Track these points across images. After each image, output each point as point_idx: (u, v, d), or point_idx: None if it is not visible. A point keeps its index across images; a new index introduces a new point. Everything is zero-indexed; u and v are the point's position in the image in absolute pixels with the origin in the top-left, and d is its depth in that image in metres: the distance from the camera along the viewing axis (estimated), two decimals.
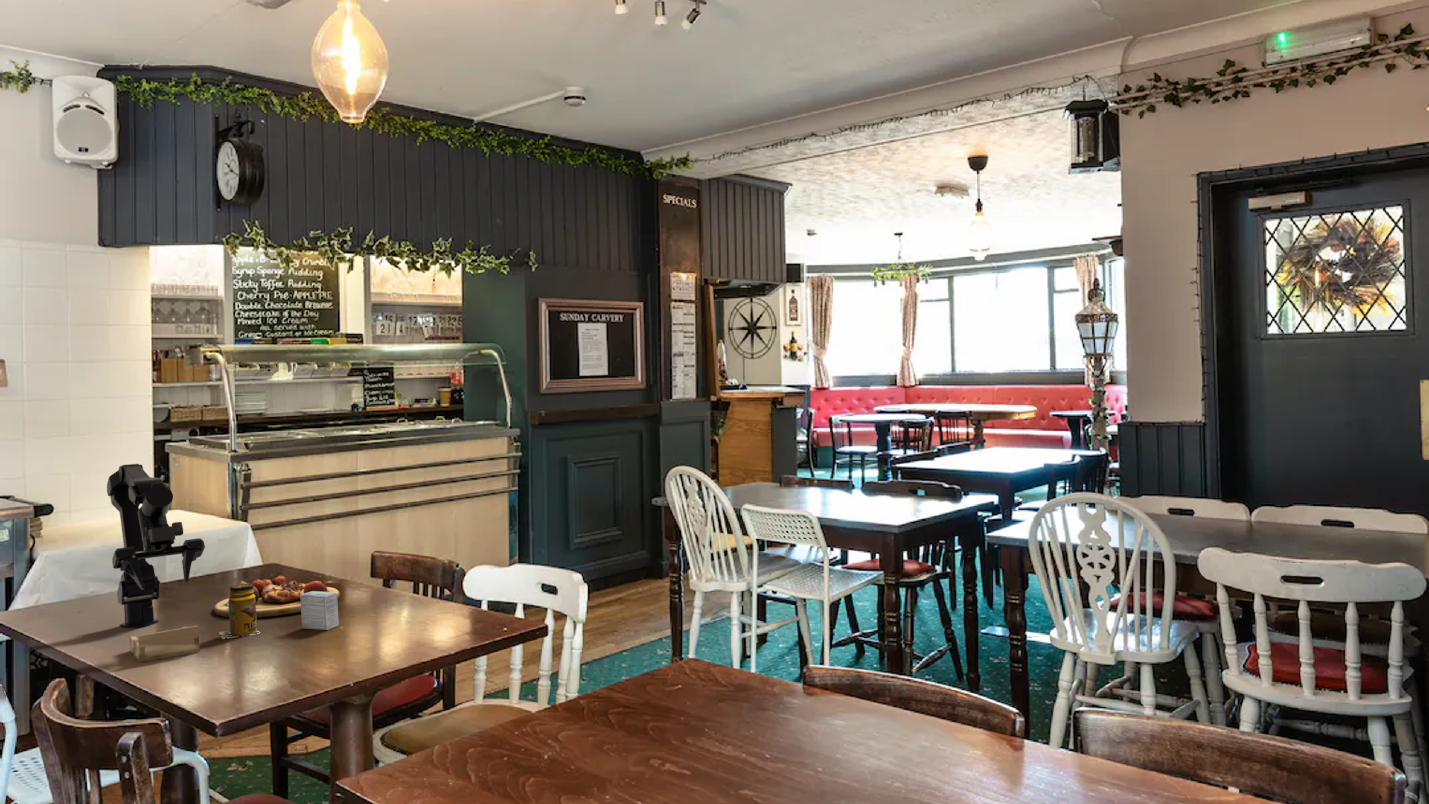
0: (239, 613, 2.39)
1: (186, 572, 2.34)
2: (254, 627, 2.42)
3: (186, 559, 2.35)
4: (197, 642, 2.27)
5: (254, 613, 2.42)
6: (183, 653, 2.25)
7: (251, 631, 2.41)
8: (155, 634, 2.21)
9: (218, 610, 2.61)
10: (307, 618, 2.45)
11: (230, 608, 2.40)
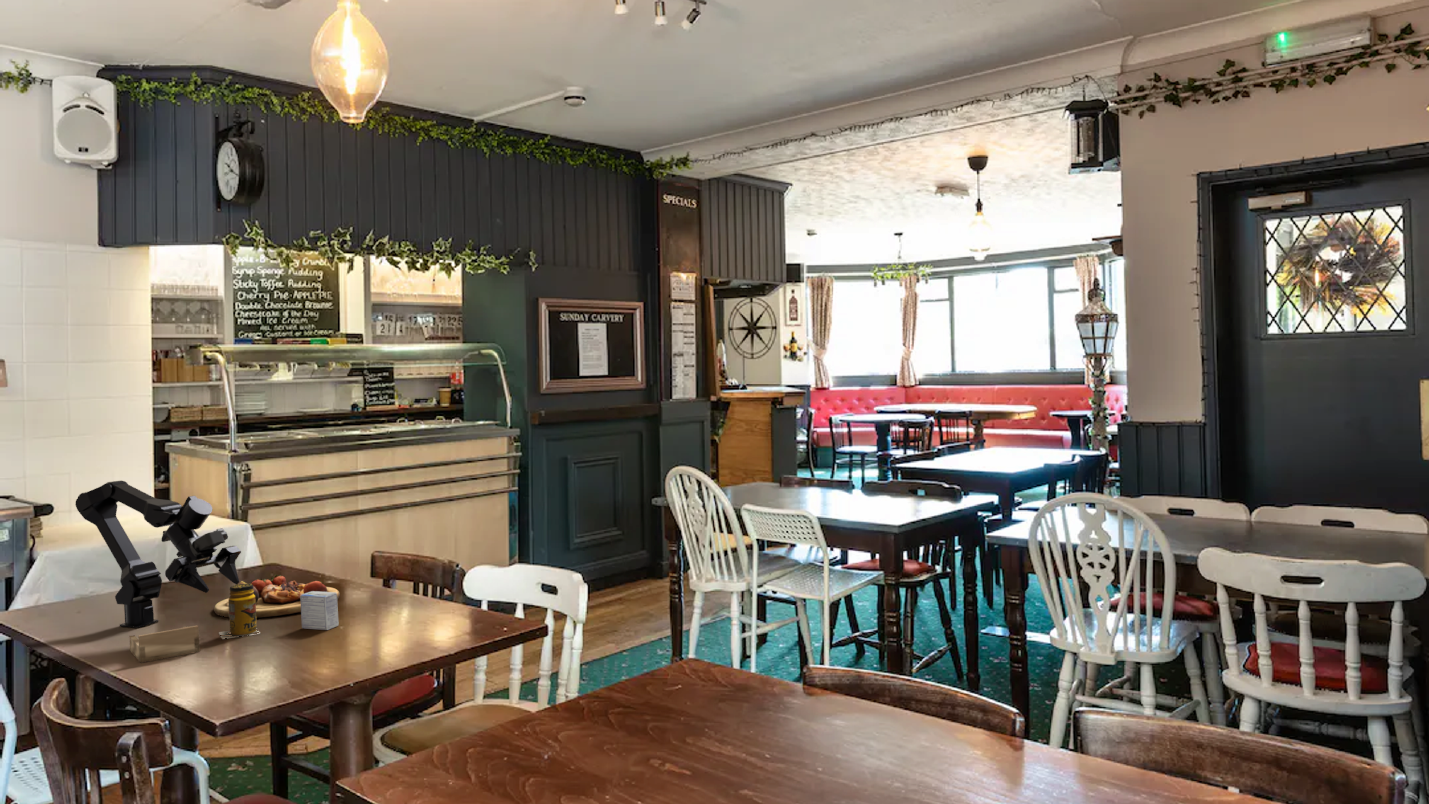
0: (239, 613, 2.39)
1: (235, 574, 2.48)
2: (254, 627, 2.42)
3: (230, 563, 2.49)
4: (197, 642, 2.27)
5: (254, 613, 2.42)
6: (183, 653, 2.25)
7: (251, 631, 2.41)
8: (155, 634, 2.21)
9: (218, 610, 2.61)
10: (307, 618, 2.45)
11: (230, 608, 2.40)
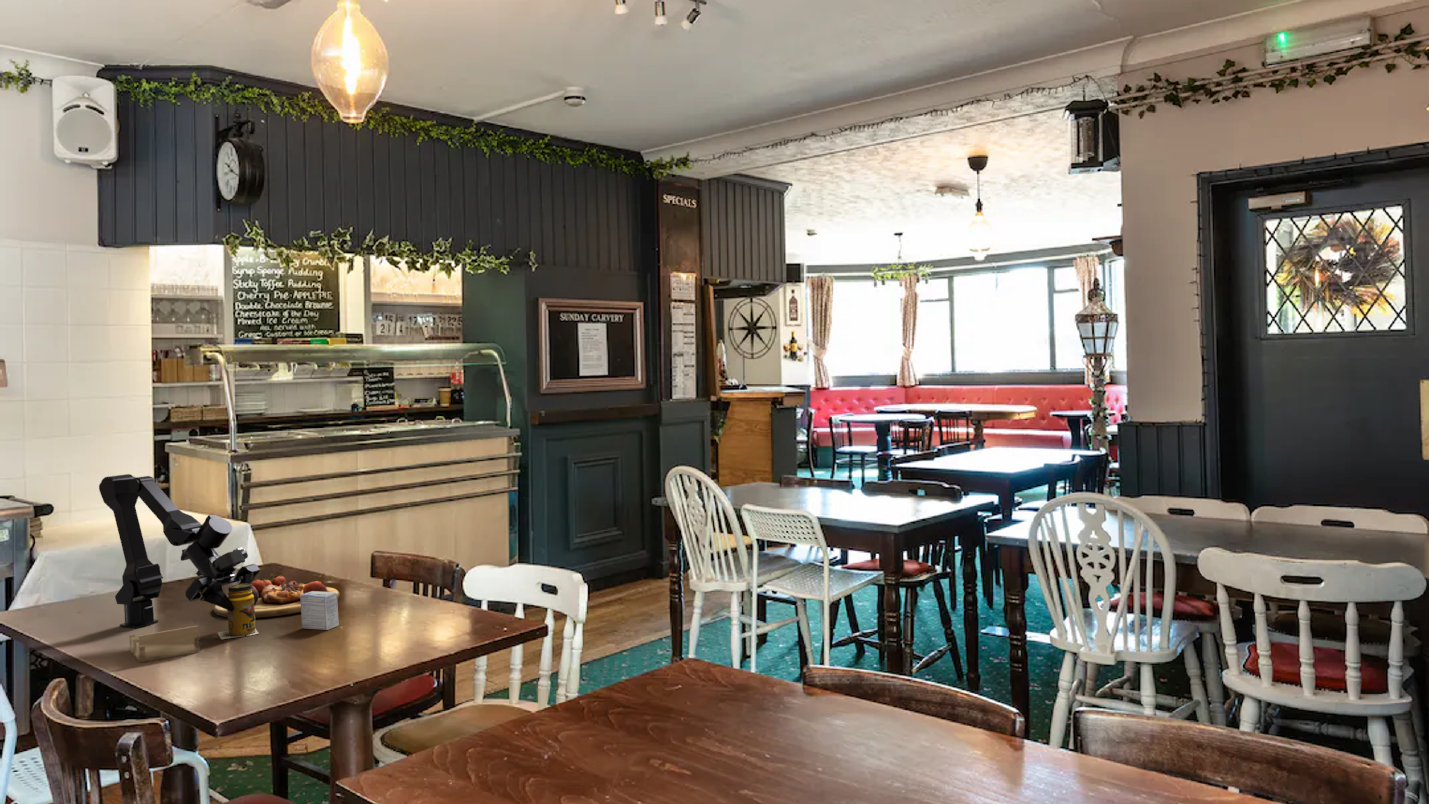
0: (237, 613, 2.39)
1: None
2: (253, 627, 2.42)
3: None
4: (197, 642, 2.27)
5: (253, 613, 2.42)
6: (183, 653, 2.25)
7: (250, 631, 2.41)
8: (155, 634, 2.21)
9: (218, 610, 2.61)
10: (307, 618, 2.45)
11: None
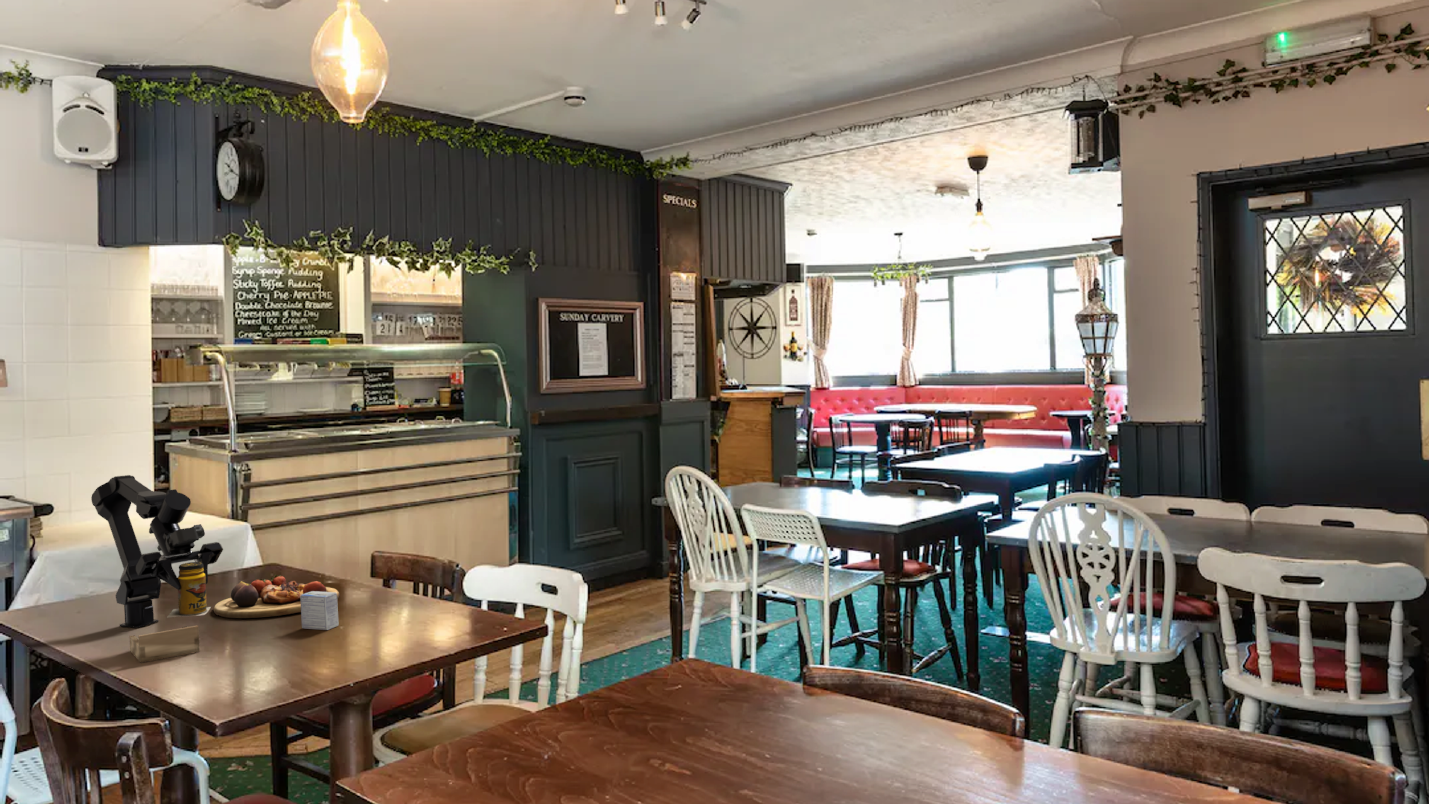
0: (184, 592, 2.34)
1: None
2: (201, 607, 2.36)
3: (202, 562, 2.40)
4: (197, 642, 2.27)
5: (201, 593, 2.36)
6: (183, 653, 2.25)
7: (197, 611, 2.35)
8: (155, 634, 2.21)
9: (217, 610, 2.61)
10: (307, 618, 2.45)
11: None
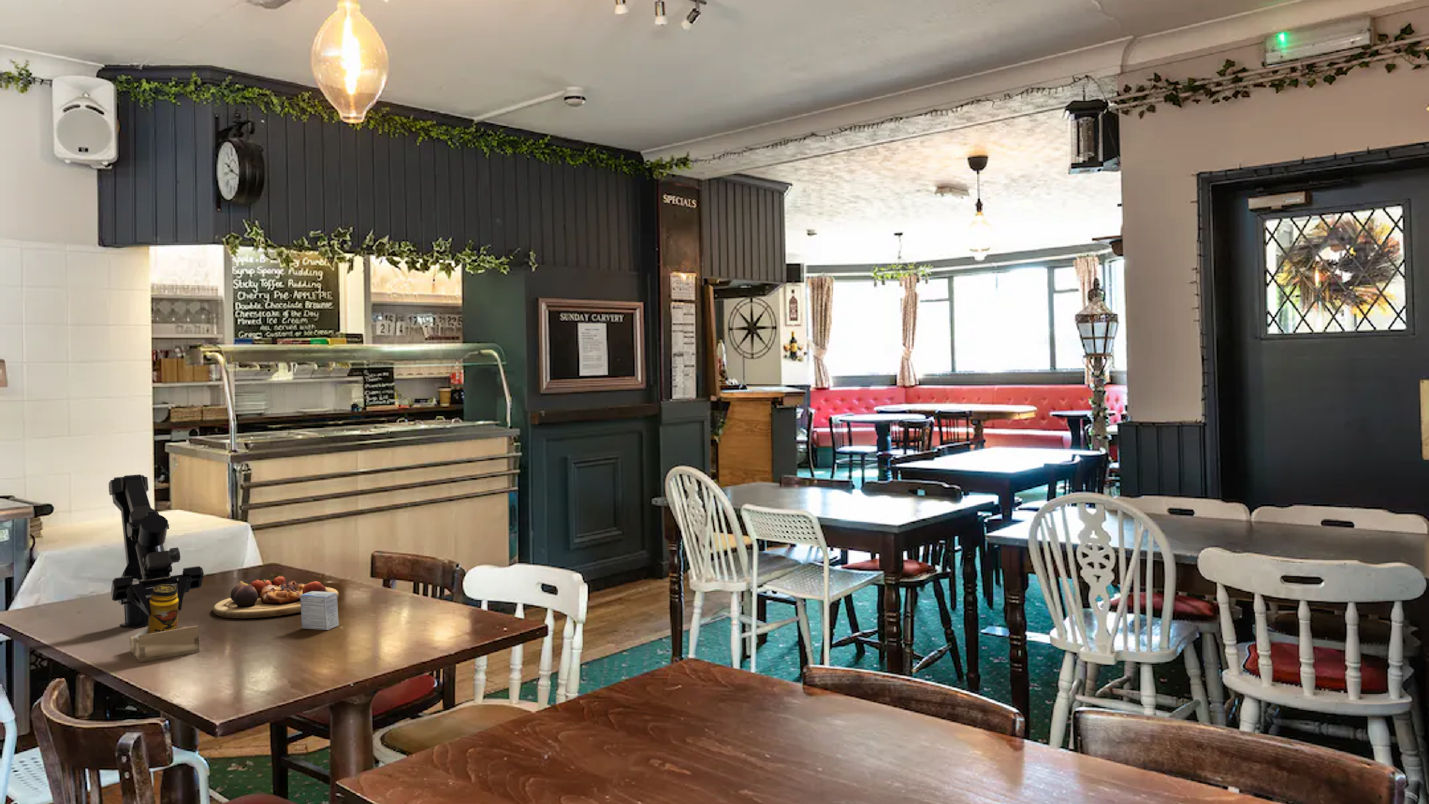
0: (151, 617, 2.25)
1: (179, 599, 2.30)
2: None
3: (178, 587, 2.31)
4: (197, 642, 2.27)
5: (169, 620, 2.27)
6: (183, 653, 2.25)
7: None
8: (155, 634, 2.21)
9: (217, 610, 2.61)
10: (307, 618, 2.45)
11: None
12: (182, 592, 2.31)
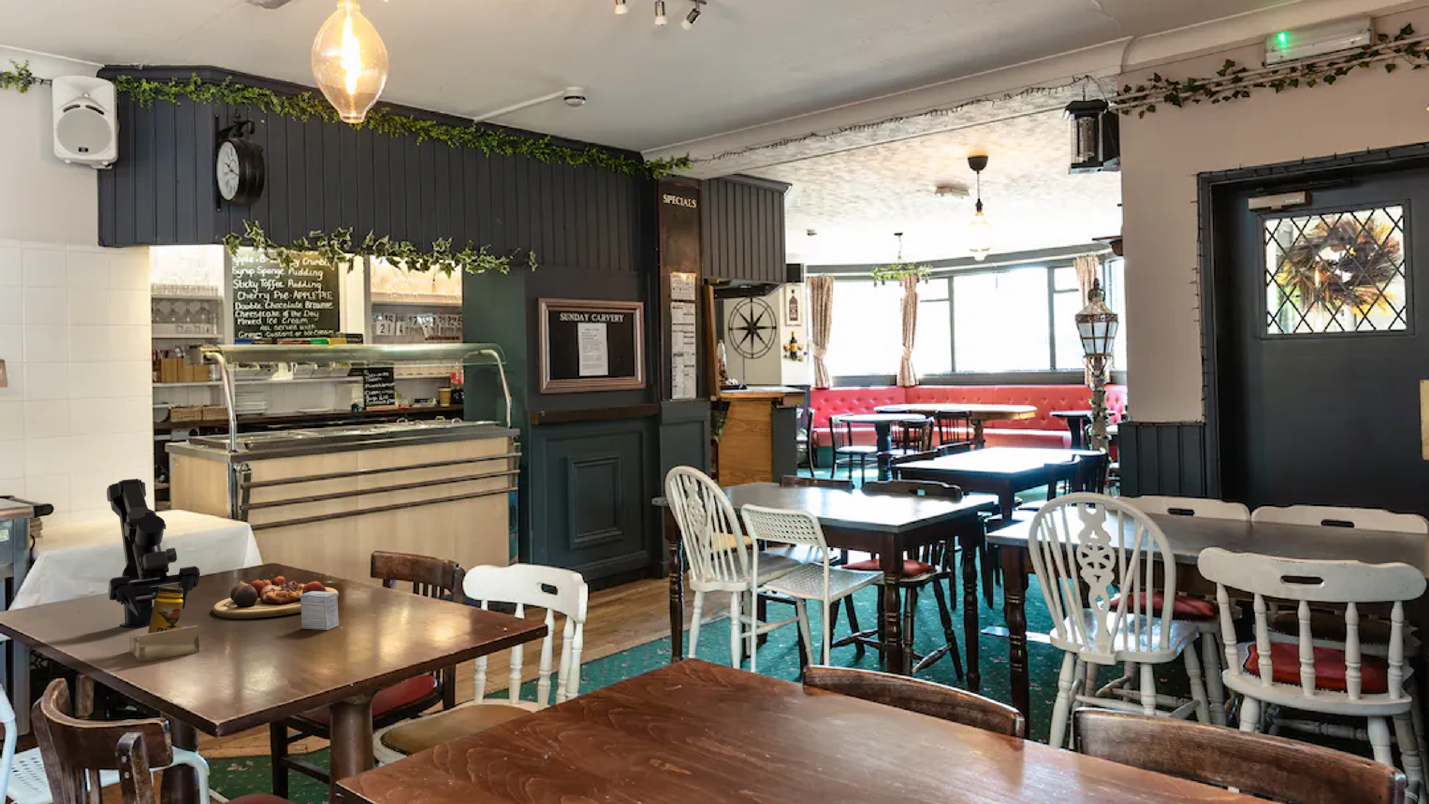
0: (156, 614, 2.28)
1: (182, 598, 2.34)
2: None
3: (182, 586, 2.35)
4: (197, 642, 2.27)
5: (173, 619, 2.29)
6: (183, 653, 2.25)
7: None
8: (155, 634, 2.21)
9: (217, 610, 2.61)
10: (307, 618, 2.45)
11: (153, 608, 2.30)
12: (185, 591, 2.35)
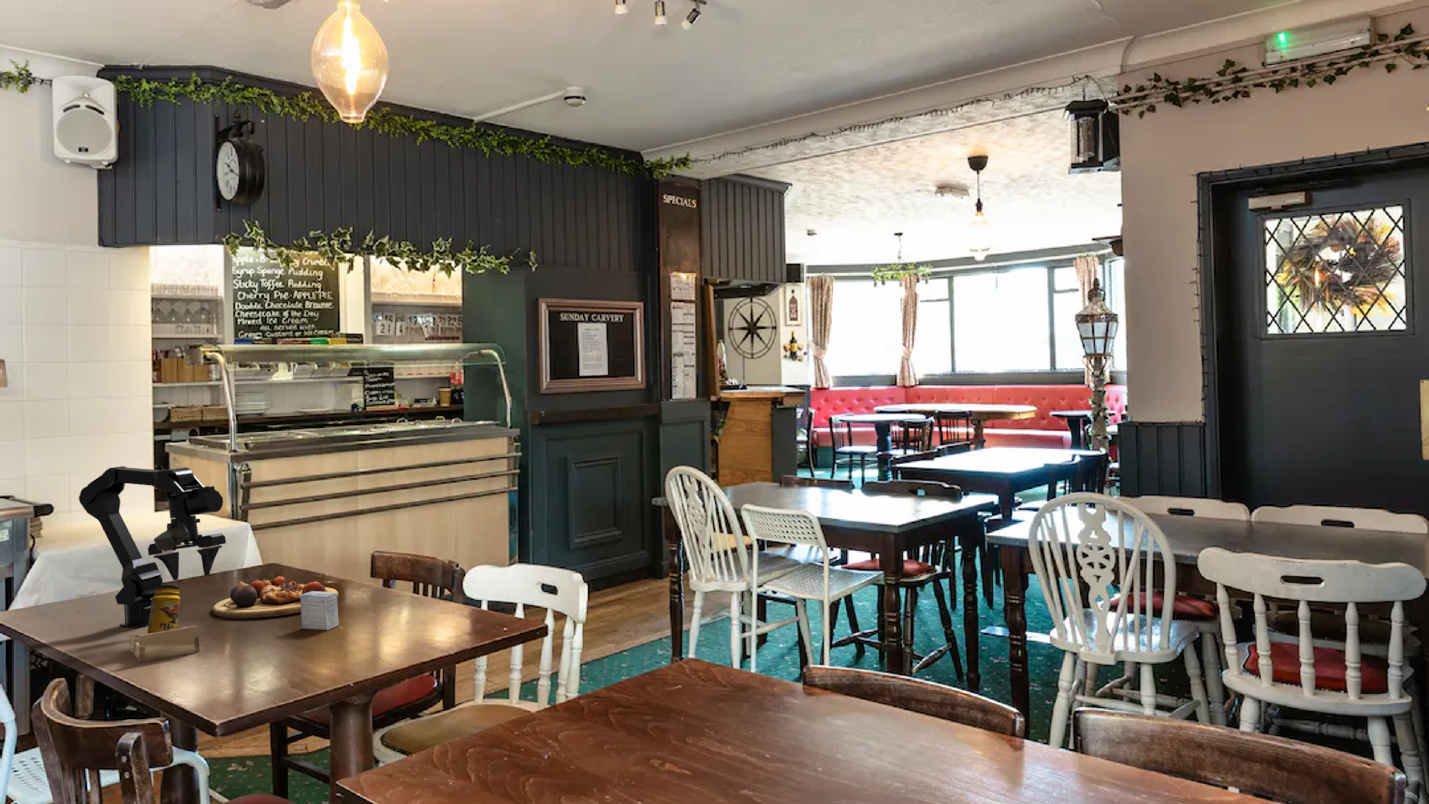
0: (157, 611, 2.30)
1: (203, 567, 2.47)
2: None
3: (201, 555, 2.47)
4: (197, 642, 2.27)
5: (174, 615, 2.32)
6: (183, 653, 2.25)
7: None
8: (155, 634, 2.21)
9: (216, 611, 2.61)
10: (307, 618, 2.45)
11: (151, 607, 2.31)
12: (204, 561, 2.47)
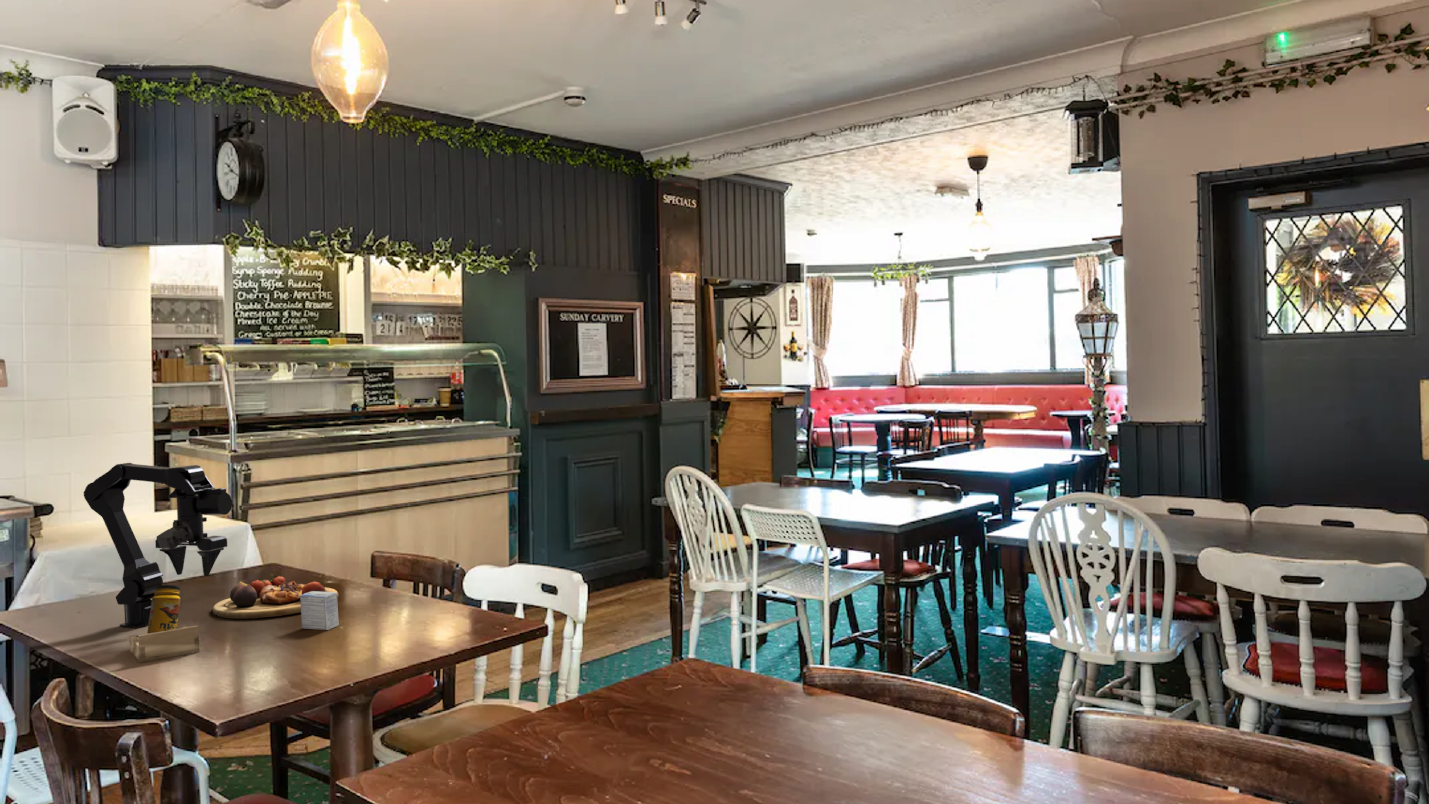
0: (157, 611, 2.30)
1: (203, 568, 2.48)
2: None
3: (202, 556, 2.47)
4: (197, 642, 2.27)
5: (174, 615, 2.32)
6: (183, 653, 2.25)
7: None
8: (155, 634, 2.21)
9: (216, 611, 2.61)
10: (307, 618, 2.45)
11: (151, 607, 2.31)
12: (204, 562, 2.48)
